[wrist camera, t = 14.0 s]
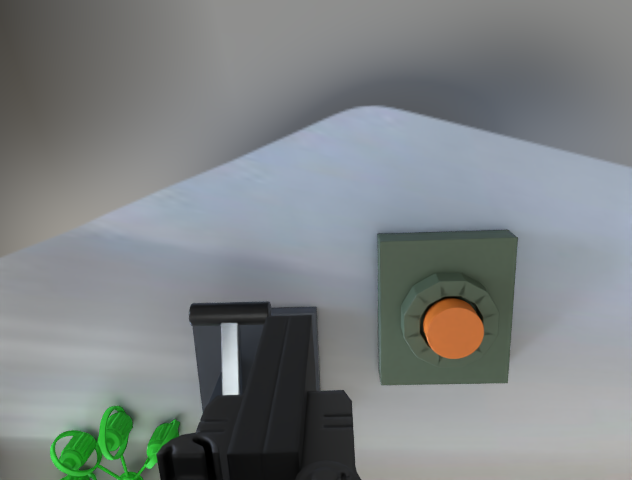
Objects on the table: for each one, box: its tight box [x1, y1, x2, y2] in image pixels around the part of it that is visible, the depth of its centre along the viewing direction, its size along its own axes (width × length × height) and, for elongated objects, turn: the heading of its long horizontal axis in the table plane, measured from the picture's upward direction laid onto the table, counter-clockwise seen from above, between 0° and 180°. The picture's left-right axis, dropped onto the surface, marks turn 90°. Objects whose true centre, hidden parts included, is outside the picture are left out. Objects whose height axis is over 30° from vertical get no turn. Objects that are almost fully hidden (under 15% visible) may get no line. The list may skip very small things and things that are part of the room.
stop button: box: [423, 298, 484, 359], centre depth 37 cm, size 4×4×2 cm
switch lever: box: [189, 302, 271, 395], centre depth 32 cm, size 12×5×2 cm, turn 3°
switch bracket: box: [193, 307, 320, 412], centre depth 37 cm, size 12×10×14 cm
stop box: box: [378, 230, 518, 385], centre depth 39 cm, size 12×10×4 cm
